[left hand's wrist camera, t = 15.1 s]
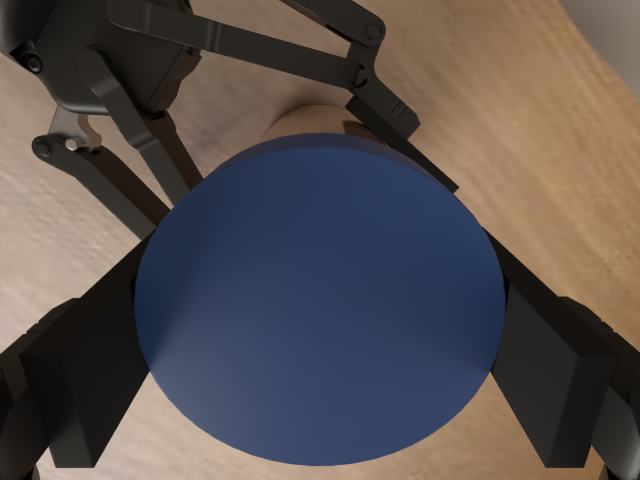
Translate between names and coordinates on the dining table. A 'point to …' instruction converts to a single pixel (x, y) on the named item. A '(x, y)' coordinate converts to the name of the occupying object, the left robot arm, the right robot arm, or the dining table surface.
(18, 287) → the dining table surface
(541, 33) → the dining table surface
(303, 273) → the lid
